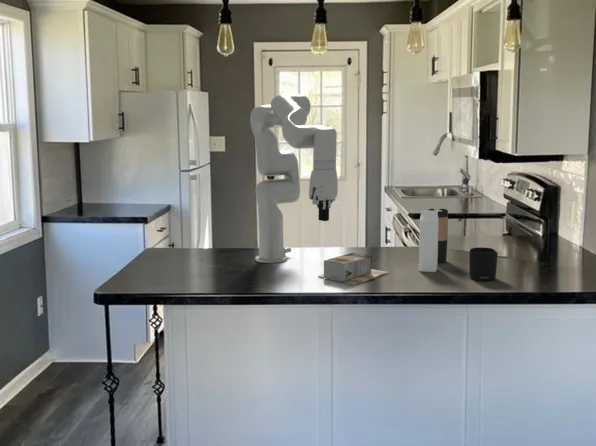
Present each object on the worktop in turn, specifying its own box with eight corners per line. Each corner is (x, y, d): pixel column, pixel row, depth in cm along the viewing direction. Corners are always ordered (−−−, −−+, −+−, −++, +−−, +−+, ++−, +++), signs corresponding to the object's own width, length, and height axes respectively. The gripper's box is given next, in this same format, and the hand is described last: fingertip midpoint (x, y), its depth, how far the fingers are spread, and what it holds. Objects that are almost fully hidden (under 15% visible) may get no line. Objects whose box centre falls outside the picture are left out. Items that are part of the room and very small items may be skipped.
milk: (421, 267, 254) (422, 209, 251) (437, 268, 252) (438, 209, 249) (418, 271, 248) (419, 211, 245) (435, 272, 246) (436, 211, 243)
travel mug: (438, 264, 259) (440, 212, 256) (422, 261, 265) (423, 209, 262) (450, 261, 264) (452, 209, 261) (434, 258, 270) (436, 207, 267)
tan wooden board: (352, 267, 256) (352, 265, 255) (388, 273, 245) (388, 272, 245) (318, 277, 241) (318, 275, 241) (354, 284, 230) (354, 283, 230)
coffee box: (323, 259, 237) (351, 252, 249) (323, 277, 238) (351, 269, 250) (344, 263, 231) (372, 255, 243) (344, 282, 232) (371, 273, 244)
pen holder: (463, 278, 237) (464, 250, 236) (477, 273, 244) (478, 246, 242) (488, 283, 231) (489, 254, 229) (501, 278, 237) (502, 249, 236)
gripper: (329, 162, 232) (328, 215, 236) (301, 166, 221) (300, 222, 225) (347, 164, 228) (346, 218, 231) (318, 168, 217) (318, 225, 220)
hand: (323, 220), depth 228 cm, fingers closed
